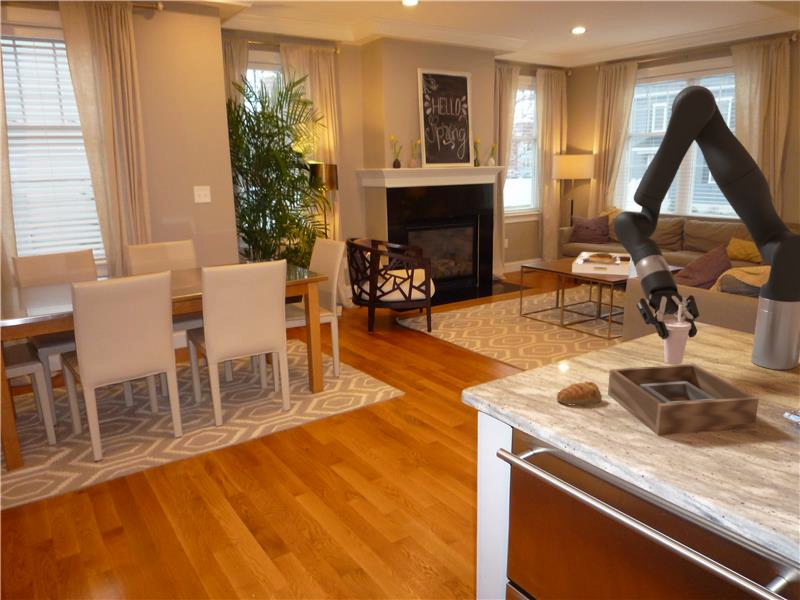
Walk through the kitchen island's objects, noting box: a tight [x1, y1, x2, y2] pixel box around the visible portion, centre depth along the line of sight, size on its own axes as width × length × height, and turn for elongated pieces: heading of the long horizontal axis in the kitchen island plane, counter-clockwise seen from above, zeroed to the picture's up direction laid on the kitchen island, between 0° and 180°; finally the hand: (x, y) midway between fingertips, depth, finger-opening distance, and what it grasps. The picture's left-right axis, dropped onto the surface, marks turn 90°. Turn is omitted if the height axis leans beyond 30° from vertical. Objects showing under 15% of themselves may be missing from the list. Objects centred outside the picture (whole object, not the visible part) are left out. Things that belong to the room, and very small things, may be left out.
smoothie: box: [662, 305, 691, 365], centre depth 137 cm, size 6×6×14 cm
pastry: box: [556, 380, 603, 406], centre depth 126 cm, size 9×7×4 cm
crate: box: [607, 363, 759, 436], centre depth 120 cm, size 20×20×6 cm
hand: (679, 336), depth 136 cm, fingers closed on smoothie, 6 cm apart
